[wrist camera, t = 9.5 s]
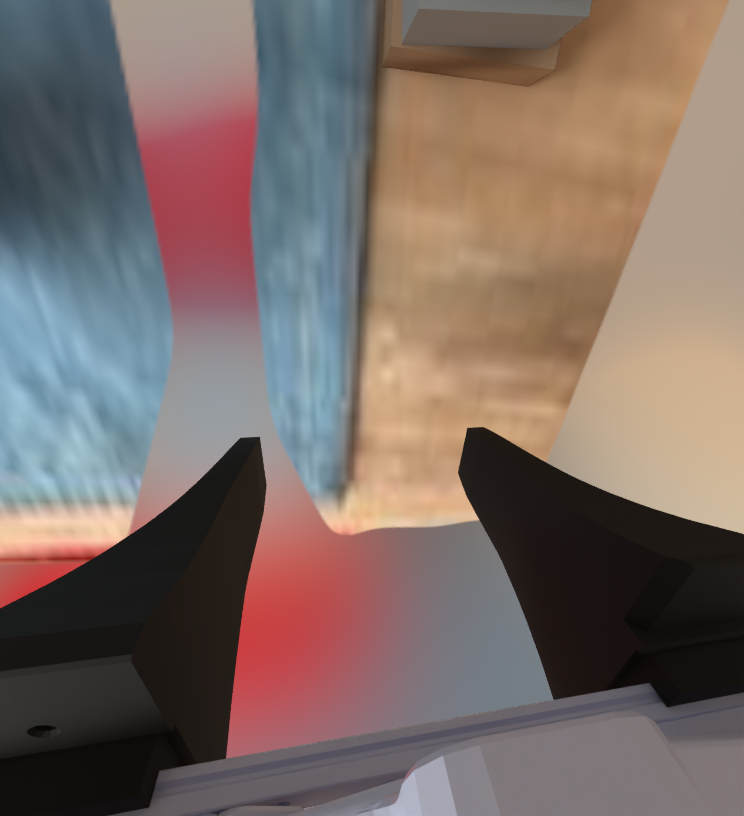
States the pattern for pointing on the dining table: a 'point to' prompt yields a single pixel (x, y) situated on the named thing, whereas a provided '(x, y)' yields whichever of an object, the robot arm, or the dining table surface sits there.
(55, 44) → the dining table surface
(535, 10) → the top block
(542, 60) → the base block
